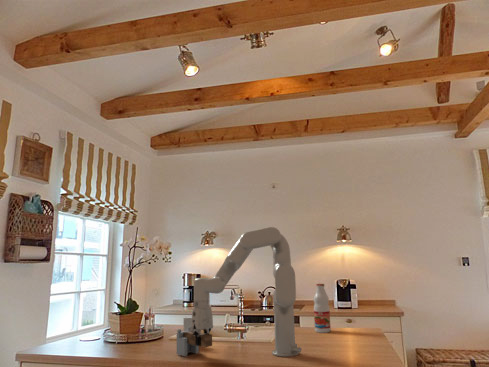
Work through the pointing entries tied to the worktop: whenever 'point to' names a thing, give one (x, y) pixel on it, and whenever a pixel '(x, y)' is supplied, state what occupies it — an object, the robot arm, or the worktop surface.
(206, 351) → the worktop surface
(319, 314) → the fruit juice
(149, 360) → the worktop surface
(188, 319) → the skincare box
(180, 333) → the grey stepped block
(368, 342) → the worktop surface
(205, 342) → the wooden block
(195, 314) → the robot arm
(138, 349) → the worktop surface
